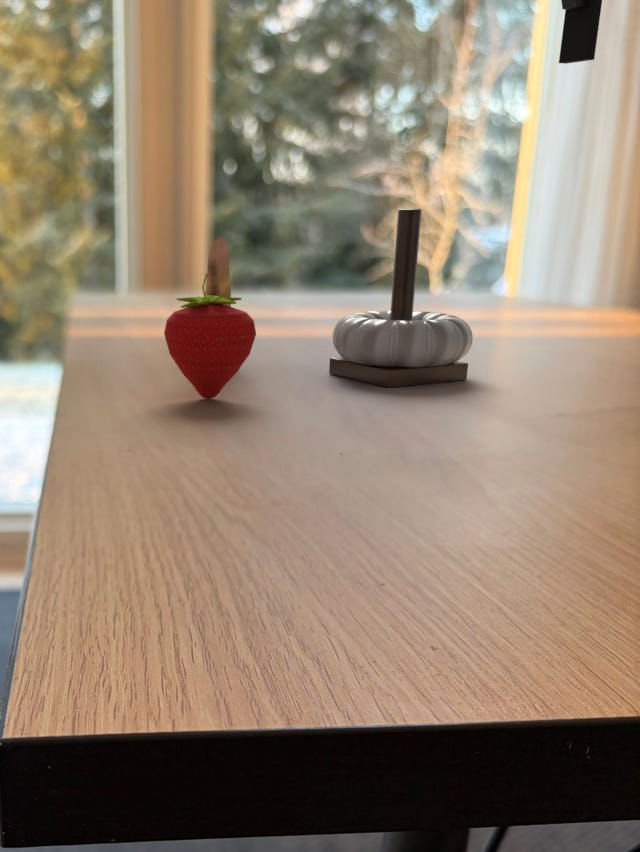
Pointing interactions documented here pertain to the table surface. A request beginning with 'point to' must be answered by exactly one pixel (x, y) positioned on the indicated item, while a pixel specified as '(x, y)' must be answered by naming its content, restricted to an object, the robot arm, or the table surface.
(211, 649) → the table surface
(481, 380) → the table surface
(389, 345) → the ring
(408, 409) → the table surface
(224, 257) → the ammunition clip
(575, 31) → the robot arm
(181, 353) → the strawberry
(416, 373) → the stand
